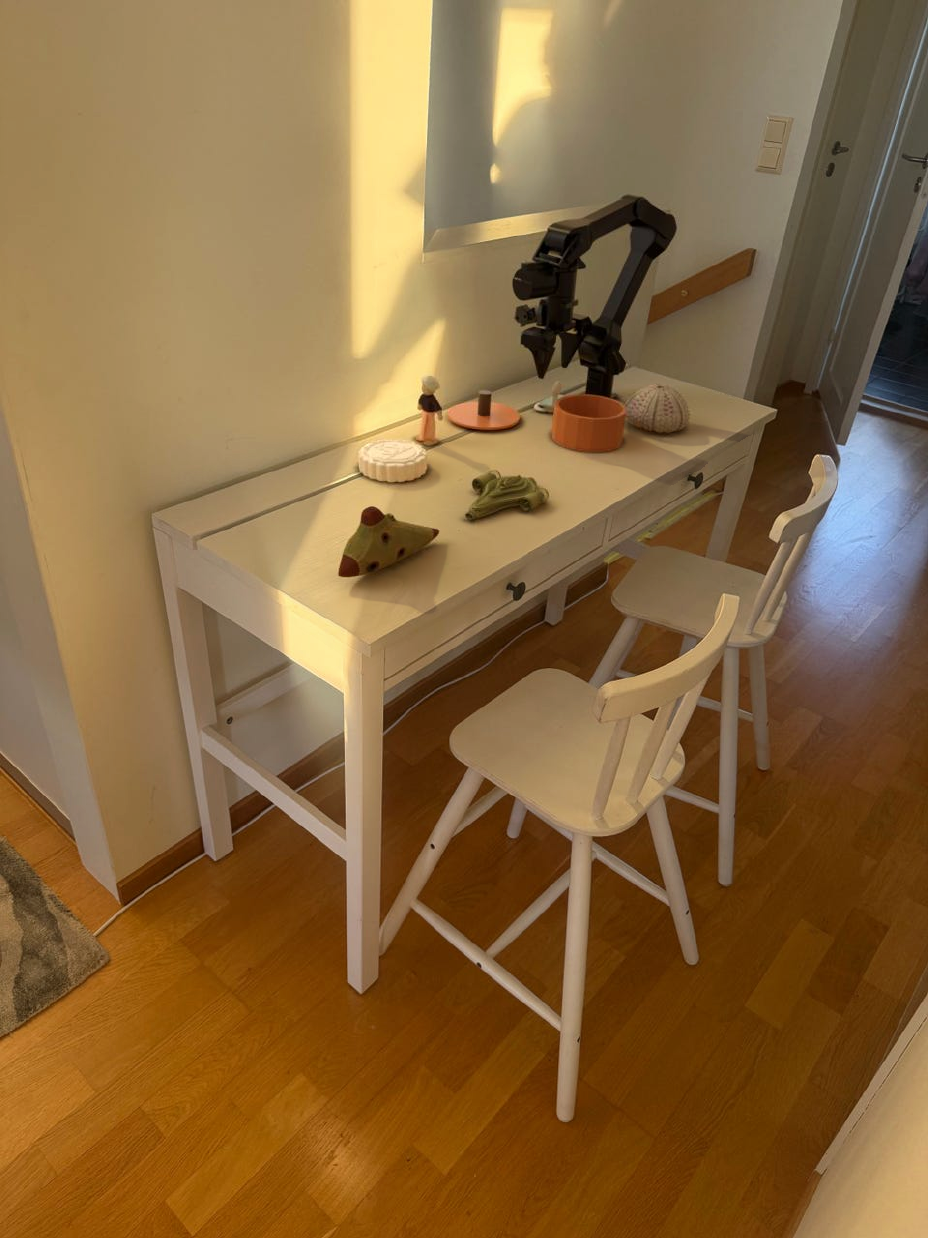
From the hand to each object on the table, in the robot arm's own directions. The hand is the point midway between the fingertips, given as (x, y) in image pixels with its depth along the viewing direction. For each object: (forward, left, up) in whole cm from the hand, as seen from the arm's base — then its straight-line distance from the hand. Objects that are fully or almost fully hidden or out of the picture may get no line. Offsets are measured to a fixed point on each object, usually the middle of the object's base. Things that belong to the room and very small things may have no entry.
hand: (552, 372), depth 182 cm
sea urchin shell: (-7, +21, -8) cm, 24 cm away
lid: (+14, -7, -7) cm, 17 cm away
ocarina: (+71, +16, -8) cm, 73 cm away
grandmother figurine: (+31, -8, -8) cm, 33 cm away
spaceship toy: (+44, +17, -8) cm, 48 cm away
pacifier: (0, 0, -8) cm, 8 cm away
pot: (+9, +14, -8) cm, 18 cm away
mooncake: (+45, -5, -8) cm, 46 cm away
